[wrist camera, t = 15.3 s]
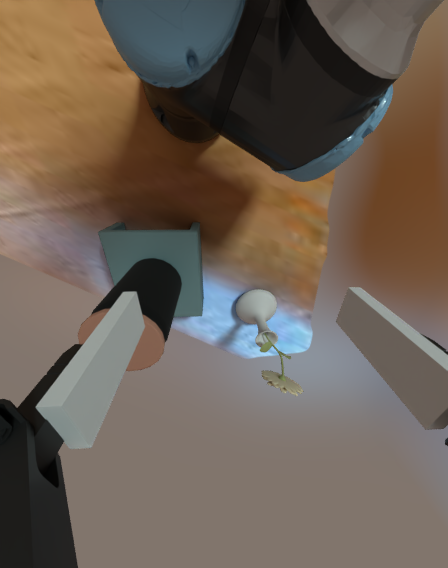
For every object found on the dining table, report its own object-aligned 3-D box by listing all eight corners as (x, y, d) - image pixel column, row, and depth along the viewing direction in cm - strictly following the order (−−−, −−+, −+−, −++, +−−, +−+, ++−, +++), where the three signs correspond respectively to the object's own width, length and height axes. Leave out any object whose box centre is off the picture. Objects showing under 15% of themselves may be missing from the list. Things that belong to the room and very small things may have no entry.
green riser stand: (116, 222, 43) (98, 232, 36) (199, 222, 43) (197, 231, 36) (136, 298, 52) (124, 318, 45) (203, 297, 53) (202, 316, 46)
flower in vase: (226, 304, 55) (235, 390, 33) (257, 278, 51) (290, 355, 29) (256, 328, 60) (281, 416, 38) (286, 306, 56) (333, 389, 34)
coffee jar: (119, 272, 40) (57, 336, 24) (160, 245, 37) (121, 297, 22) (154, 308, 44) (122, 380, 29) (192, 286, 42) (180, 352, 26)
